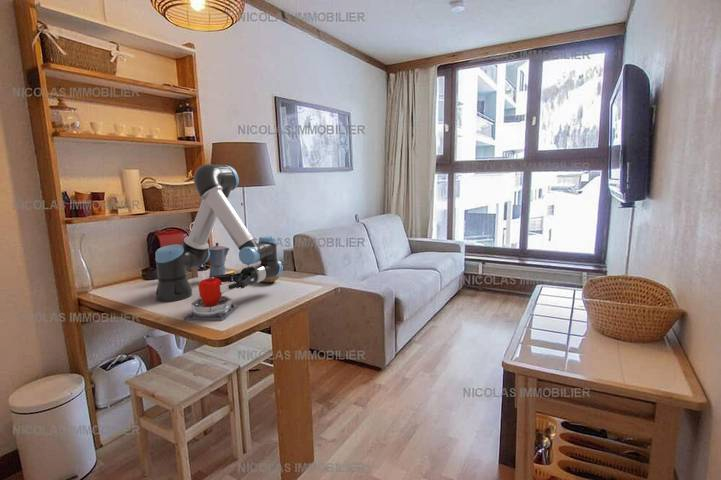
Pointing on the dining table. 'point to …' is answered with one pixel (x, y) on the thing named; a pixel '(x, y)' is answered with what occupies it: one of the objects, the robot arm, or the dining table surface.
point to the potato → (271, 279)
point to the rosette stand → (212, 310)
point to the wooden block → (192, 273)
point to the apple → (210, 291)
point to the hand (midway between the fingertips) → (209, 286)
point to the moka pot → (217, 260)
